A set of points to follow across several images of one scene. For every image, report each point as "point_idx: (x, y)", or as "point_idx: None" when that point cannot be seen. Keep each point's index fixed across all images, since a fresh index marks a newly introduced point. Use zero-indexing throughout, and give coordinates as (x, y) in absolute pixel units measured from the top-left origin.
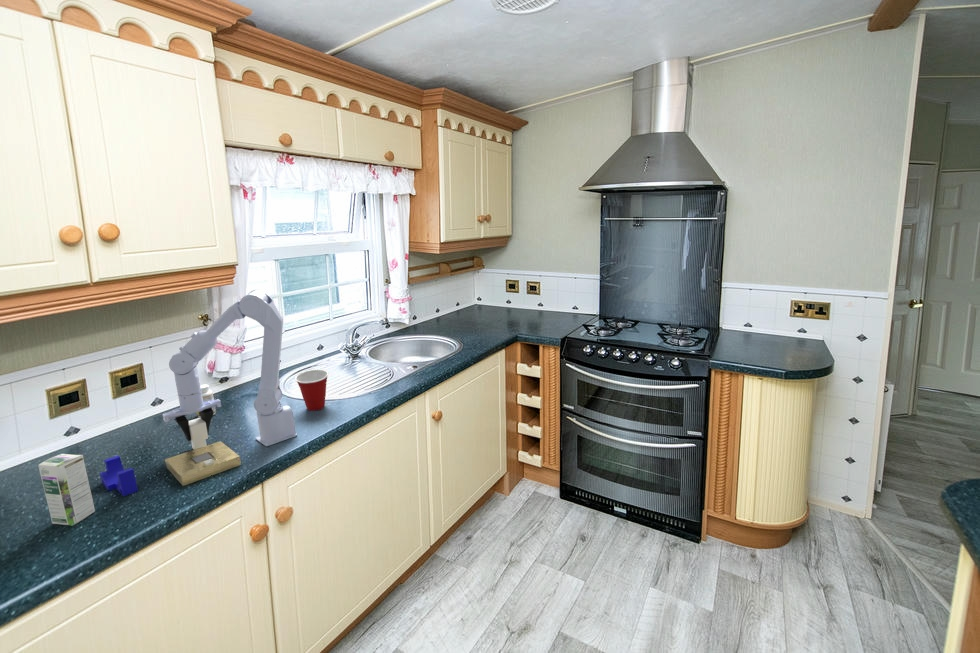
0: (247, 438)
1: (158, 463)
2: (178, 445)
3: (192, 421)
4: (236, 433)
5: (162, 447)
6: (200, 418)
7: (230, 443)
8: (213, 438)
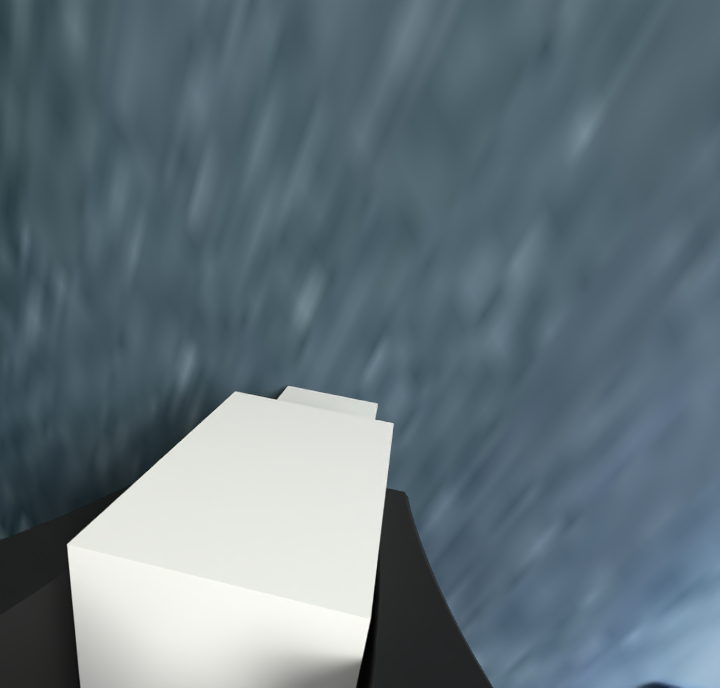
0: (642, 617)
1: (39, 408)
2: (235, 208)
3: (186, 652)
4: (691, 455)
5: (120, 106)
6: (358, 663)
7: (508, 575)
8: (504, 361)
